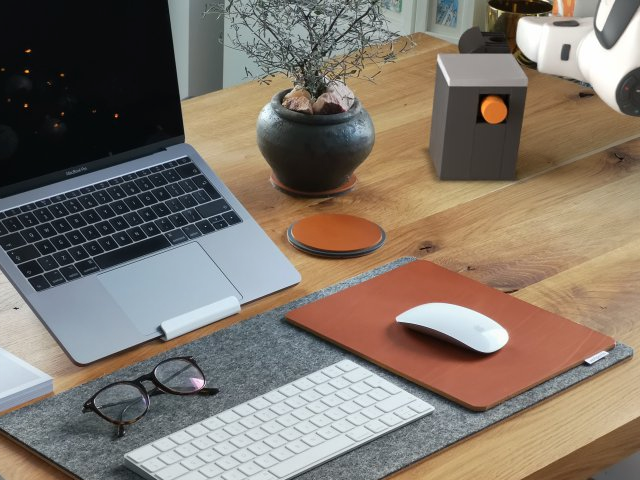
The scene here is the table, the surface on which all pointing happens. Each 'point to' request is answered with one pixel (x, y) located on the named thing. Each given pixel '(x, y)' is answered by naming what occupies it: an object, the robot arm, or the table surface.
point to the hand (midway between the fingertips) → (580, 18)
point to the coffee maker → (476, 117)
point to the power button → (493, 109)
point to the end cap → (482, 42)
